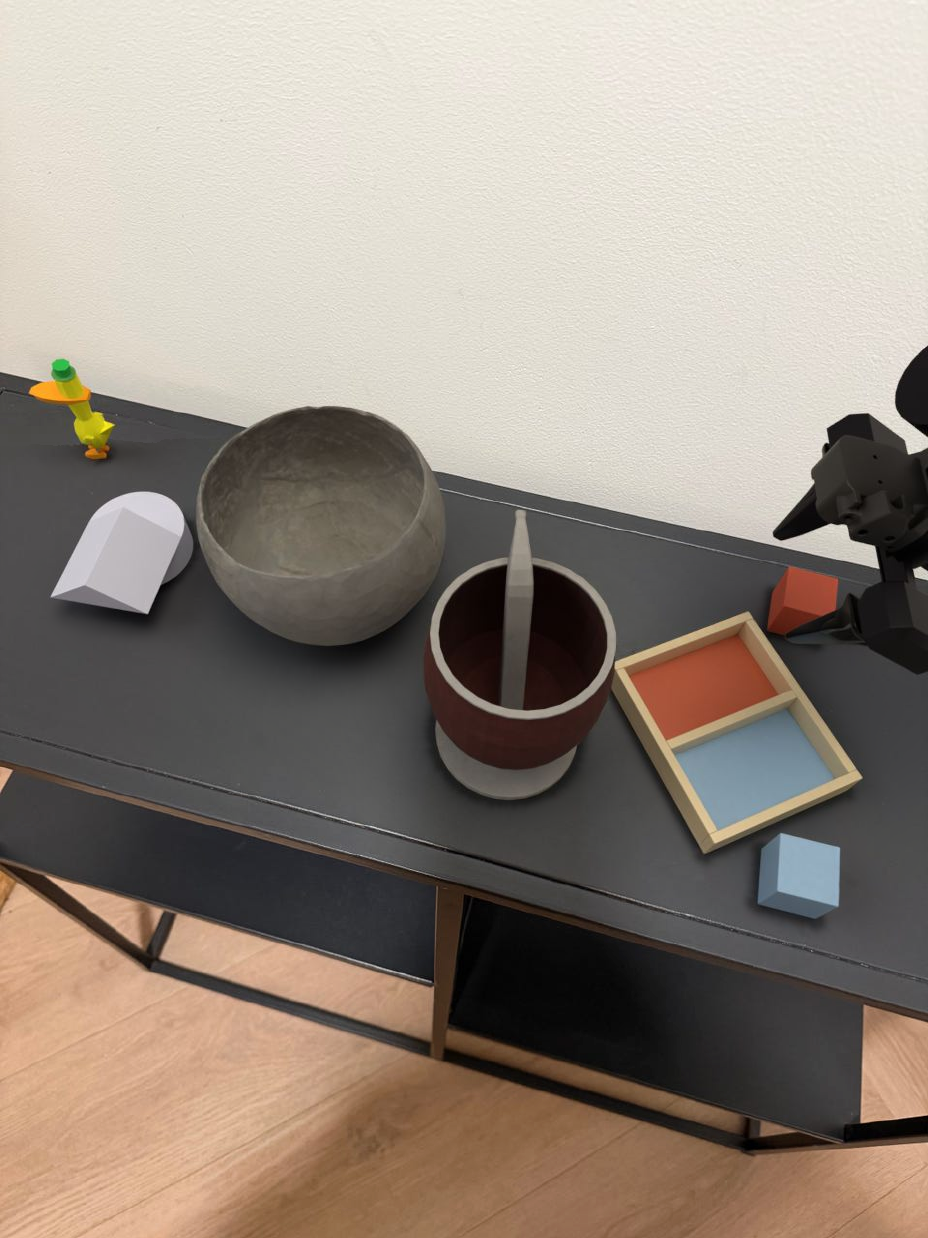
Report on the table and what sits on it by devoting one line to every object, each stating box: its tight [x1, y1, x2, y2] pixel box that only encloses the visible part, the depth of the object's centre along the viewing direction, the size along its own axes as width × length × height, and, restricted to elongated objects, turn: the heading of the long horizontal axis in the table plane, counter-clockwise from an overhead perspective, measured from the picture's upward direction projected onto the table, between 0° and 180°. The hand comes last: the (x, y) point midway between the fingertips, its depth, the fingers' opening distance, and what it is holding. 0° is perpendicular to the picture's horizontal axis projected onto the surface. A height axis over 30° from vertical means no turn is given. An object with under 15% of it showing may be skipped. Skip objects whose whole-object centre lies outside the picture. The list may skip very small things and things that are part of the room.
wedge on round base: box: [50, 491, 194, 615], centre depth 77 cm, size 9×7×13 cm
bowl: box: [195, 405, 447, 647], centre depth 73 cm, size 20×20×15 cm
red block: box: [766, 566, 839, 636], centre depth 77 cm, size 4×4×4 cm
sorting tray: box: [611, 611, 863, 855], centre depth 71 cm, size 14×17×3 cm
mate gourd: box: [422, 509, 617, 801], centre depth 64 cm, size 16×14×20 cm
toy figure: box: [28, 358, 115, 460], centre depth 82 cm, size 7×4×12 cm, turn 87°
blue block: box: [757, 832, 841, 920], centre depth 64 cm, size 4×4×4 cm
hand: (782, 586), depth 63 cm, fingers open, 9 cm apart
